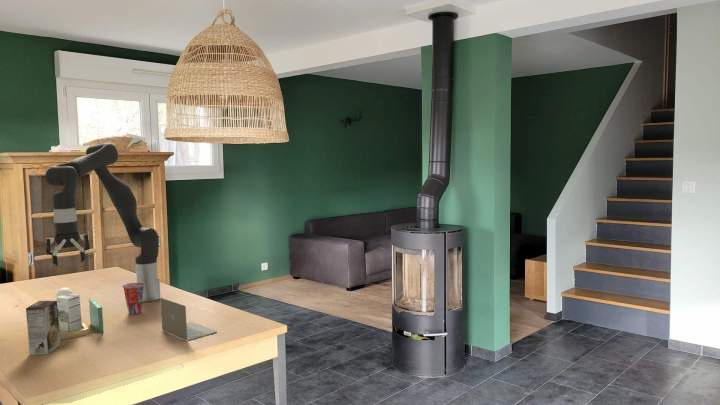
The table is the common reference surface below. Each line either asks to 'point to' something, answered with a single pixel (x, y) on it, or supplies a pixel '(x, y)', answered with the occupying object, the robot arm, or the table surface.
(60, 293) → the lightbulb
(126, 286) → the cup
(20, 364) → the table surface
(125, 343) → the table surface
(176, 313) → the laptop
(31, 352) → the coffee box
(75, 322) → the syrup box
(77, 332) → the tan and teal pieces
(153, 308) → the table surface
